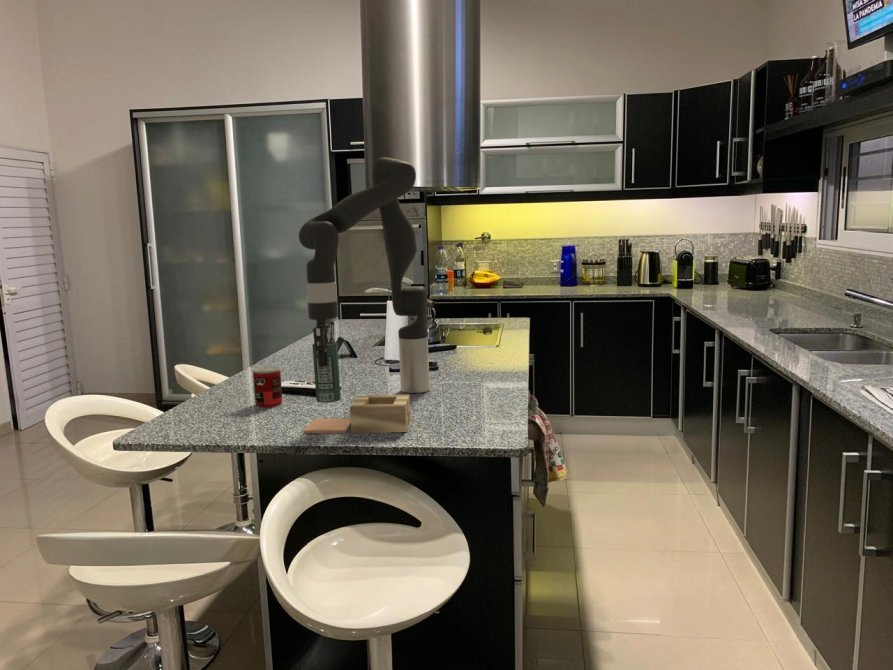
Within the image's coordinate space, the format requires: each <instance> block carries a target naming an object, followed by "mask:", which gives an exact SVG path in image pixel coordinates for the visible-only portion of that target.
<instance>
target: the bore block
mask: <svg viewBox="0 0 893 670" xmlns="http://www.w3.org/2000/svg"><path fill="white" fill-rule="evenodd" d="M410 397H411V396H410V394H379V395H378V394H377V395H375V394H373V395H357V396H356V398H355V400H354V401H353V402H352V403H351V404H350V407H349V411H350V414H349V415H350V419H351V426H350V430H351V431H350V432H351V433H354V434H392V433H391V432H406V433H407V431H408V429H407V428H409V426H410V423H411V420H412V419H411V399H410ZM409 422H410V423H409ZM408 425H409V426H408ZM406 430H407V431H406ZM377 432H378V433H377Z"/></svg>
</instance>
